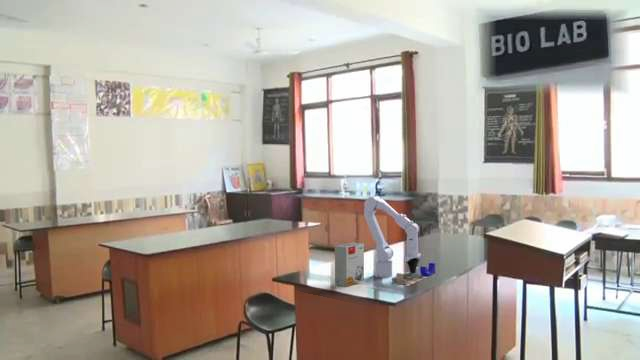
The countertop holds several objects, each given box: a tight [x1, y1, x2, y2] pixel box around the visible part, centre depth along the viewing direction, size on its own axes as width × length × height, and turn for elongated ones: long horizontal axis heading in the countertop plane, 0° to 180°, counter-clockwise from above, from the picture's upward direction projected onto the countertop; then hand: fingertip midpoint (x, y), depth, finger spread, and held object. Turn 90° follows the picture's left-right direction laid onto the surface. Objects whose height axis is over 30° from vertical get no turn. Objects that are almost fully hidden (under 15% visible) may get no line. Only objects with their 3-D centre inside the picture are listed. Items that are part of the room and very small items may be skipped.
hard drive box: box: [334, 242, 365, 288], centre depth 256 cm, size 16×8×20 cm, turn 138°
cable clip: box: [419, 262, 436, 277], centre depth 269 cm, size 12×4×6 cm, turn 143°
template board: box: [390, 270, 428, 287], centre depth 257 cm, size 22×10×6 cm, turn 141°
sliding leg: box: [411, 266, 421, 279], centre depth 262 cm, size 3×5×5 cm, turn 51°
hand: (412, 272), depth 260 cm, fingers closed
